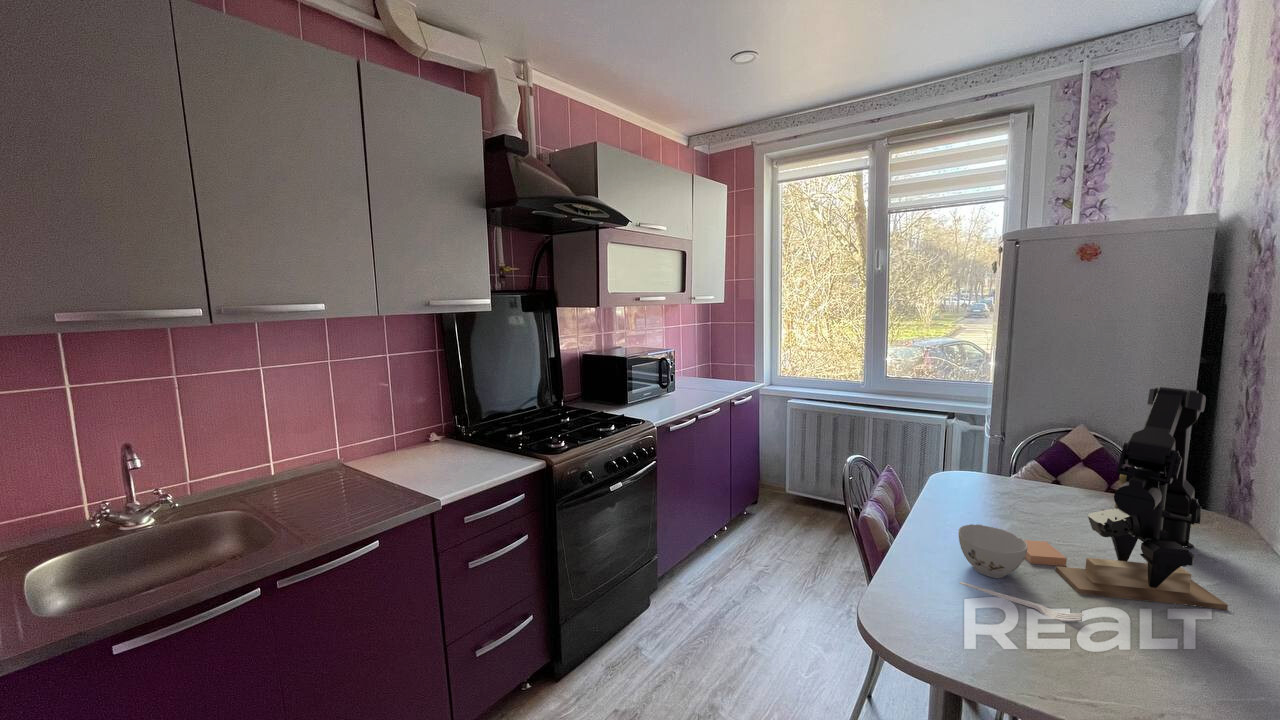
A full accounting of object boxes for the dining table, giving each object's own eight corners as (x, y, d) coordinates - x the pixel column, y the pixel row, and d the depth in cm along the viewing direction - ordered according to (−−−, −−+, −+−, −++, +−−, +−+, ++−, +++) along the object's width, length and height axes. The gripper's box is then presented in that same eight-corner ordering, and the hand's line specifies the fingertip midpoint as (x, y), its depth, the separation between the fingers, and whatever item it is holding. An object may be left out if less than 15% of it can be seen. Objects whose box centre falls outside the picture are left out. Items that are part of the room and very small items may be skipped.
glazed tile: (1046, 541, 122) (1013, 539, 123) (1066, 558, 114) (1030, 555, 116) (1045, 550, 122) (1012, 548, 124) (1065, 567, 115) (1030, 564, 116)
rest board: (1190, 584, 107) (1191, 579, 106) (1227, 609, 98) (1227, 604, 98) (1055, 570, 113) (1055, 566, 113) (1078, 593, 104) (1078, 588, 104)
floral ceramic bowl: (1007, 593, 104) (1010, 556, 103) (944, 566, 115) (946, 532, 114) (1041, 572, 112) (1044, 537, 111) (979, 548, 123) (981, 516, 122)
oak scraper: (1177, 584, 105) (1180, 566, 104) (1189, 593, 102) (1191, 574, 101) (1084, 575, 109) (1086, 557, 108) (1093, 583, 106) (1094, 564, 105)
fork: (961, 582, 110) (961, 574, 110) (1083, 621, 96) (1084, 612, 96) (956, 588, 108) (957, 580, 108) (1081, 629, 93) (1082, 620, 93)
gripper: (1071, 482, 114) (1065, 548, 116) (1126, 517, 96) (1118, 595, 98) (1132, 486, 111) (1125, 554, 113) (1200, 523, 93) (1190, 603, 95)
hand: (1136, 574), depth 105 cm, fingers open, 9 cm apart
